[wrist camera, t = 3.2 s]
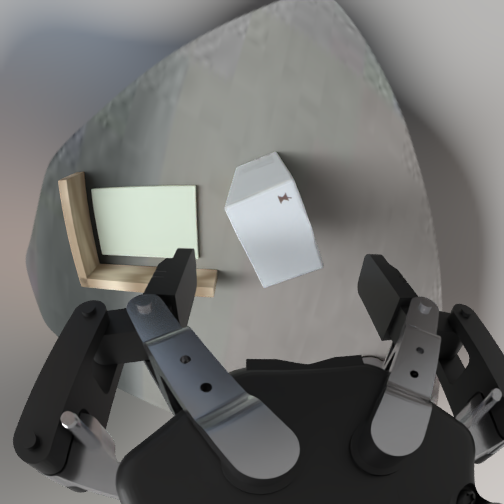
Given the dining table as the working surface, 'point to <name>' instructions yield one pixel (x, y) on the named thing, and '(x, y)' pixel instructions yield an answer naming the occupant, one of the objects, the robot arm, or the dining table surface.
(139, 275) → the wooden angle bracket
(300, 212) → the skincare box
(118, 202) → the mat
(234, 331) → the dining table surface
